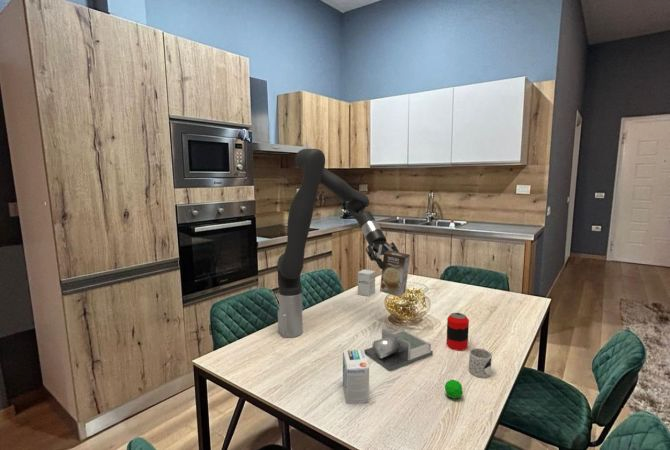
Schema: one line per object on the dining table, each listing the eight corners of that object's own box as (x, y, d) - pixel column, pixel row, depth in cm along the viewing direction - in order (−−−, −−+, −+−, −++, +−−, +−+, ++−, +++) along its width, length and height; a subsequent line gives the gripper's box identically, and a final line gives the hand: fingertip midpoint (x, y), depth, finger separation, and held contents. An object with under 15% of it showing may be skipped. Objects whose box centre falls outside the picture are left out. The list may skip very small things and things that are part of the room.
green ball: (458, 391, 106) (459, 376, 105) (465, 401, 101) (465, 386, 100) (442, 391, 106) (442, 376, 105) (447, 402, 101) (448, 386, 100)
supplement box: (357, 294, 192) (357, 272, 190) (363, 290, 198) (363, 268, 196) (369, 297, 188) (369, 273, 186) (375, 293, 194) (375, 270, 192)
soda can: (467, 343, 136) (468, 313, 134) (467, 352, 129) (469, 320, 127) (446, 340, 139) (447, 310, 137) (446, 349, 132) (447, 318, 130)
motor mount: (389, 371, 117) (390, 350, 116) (364, 353, 128) (364, 334, 127) (432, 355, 127) (433, 335, 126) (405, 340, 139) (405, 321, 138)
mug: (488, 380, 111) (489, 360, 110) (466, 374, 115) (467, 355, 114) (493, 366, 120) (494, 347, 119) (472, 360, 123) (473, 342, 122)
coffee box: (378, 291, 141) (382, 252, 139) (385, 287, 147) (388, 249, 144) (400, 297, 137) (404, 257, 134) (406, 292, 142) (410, 254, 139)
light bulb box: (342, 382, 111) (342, 350, 109) (363, 381, 111) (363, 349, 110) (346, 404, 100) (346, 368, 99) (369, 403, 101) (370, 367, 99)
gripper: (363, 229, 143) (381, 263, 135) (390, 227, 150) (409, 259, 142) (355, 240, 148) (372, 274, 140) (382, 237, 155) (399, 269, 147)
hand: (390, 266), depth 141 cm, fingers closed on coffee box, 7 cm apart
